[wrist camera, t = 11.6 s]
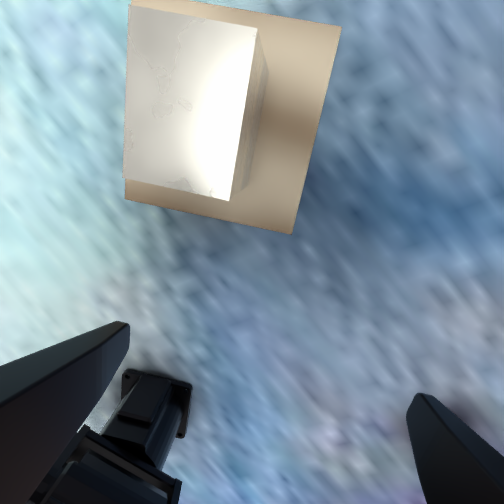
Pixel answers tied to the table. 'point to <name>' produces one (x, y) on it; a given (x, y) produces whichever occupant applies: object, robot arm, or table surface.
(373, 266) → the table surface
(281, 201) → the thin beige square tile
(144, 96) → the block
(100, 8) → the table surface
